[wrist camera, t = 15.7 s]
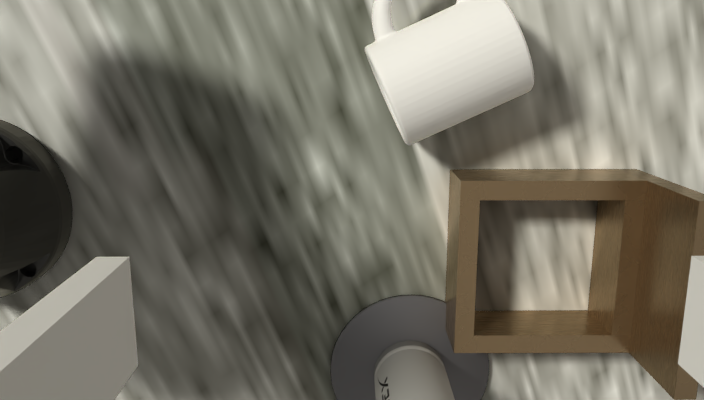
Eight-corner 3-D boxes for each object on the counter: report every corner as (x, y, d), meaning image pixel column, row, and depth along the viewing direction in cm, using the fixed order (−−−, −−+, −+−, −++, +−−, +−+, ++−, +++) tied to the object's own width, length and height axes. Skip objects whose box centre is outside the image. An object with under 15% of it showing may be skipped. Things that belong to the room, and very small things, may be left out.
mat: (331, 438, 56) (331, 442, 56) (330, 294, 53) (330, 296, 53) (484, 438, 56) (485, 441, 56) (491, 294, 53) (493, 296, 53)
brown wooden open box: (444, 326, 54) (471, 400, 42) (450, 169, 51) (480, 201, 39) (620, 326, 54) (695, 399, 42) (636, 169, 51) (722, 201, 39)
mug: (515, 88, 50) (546, 93, 42) (402, 139, 50) (412, 153, 43) (459, -57, 47) (481, -80, 39) (341, -1, 48) (340, -12, 40)
